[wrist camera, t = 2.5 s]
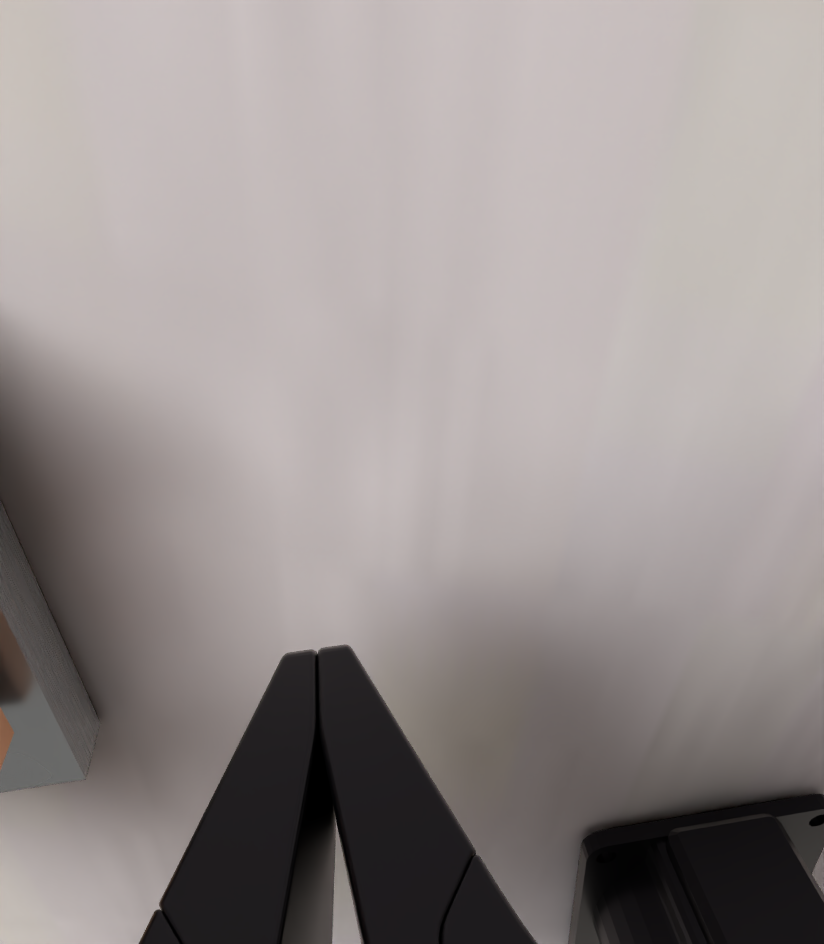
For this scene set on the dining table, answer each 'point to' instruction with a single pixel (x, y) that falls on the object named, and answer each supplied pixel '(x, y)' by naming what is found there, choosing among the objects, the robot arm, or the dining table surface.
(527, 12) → the dining table surface
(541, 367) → the dining table surface
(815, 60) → the dining table surface
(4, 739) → the cardboard box
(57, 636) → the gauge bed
